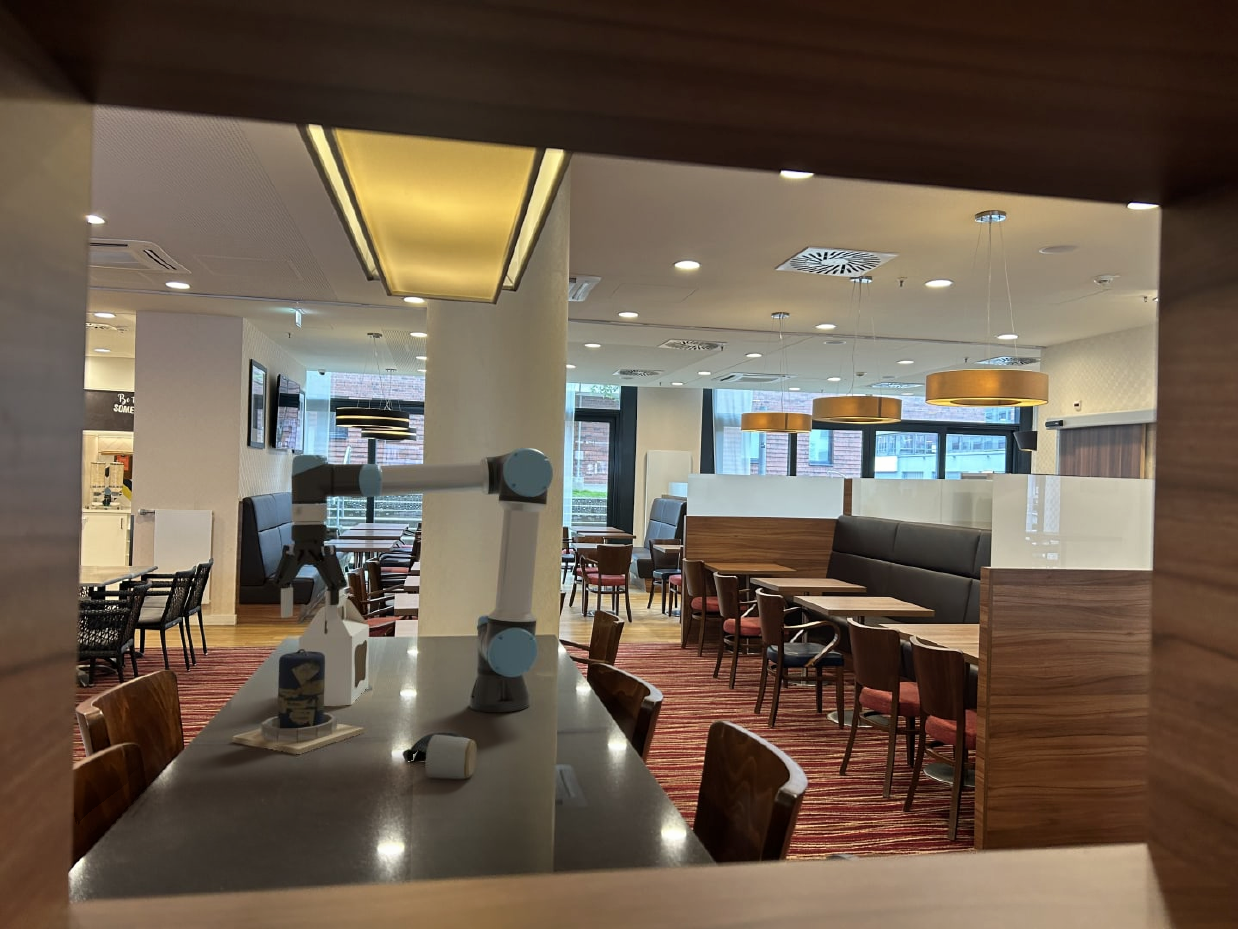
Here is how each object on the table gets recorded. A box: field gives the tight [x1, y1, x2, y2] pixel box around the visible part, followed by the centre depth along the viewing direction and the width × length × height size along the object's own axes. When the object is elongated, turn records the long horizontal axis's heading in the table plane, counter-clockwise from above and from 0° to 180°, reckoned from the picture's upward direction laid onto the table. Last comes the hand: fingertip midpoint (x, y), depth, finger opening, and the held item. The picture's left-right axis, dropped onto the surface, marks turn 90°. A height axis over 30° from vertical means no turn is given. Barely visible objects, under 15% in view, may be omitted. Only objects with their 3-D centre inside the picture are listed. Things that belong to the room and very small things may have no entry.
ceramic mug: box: [424, 735, 478, 780], centre depth 155 cm, size 11×8×8 cm
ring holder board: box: [232, 712, 365, 755], centre depth 180 cm, size 20×18×4 cm
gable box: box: [298, 588, 370, 707], centre depth 219 cm, size 22×13×28 cm, turn 6°
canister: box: [277, 649, 325, 729], centre depth 180 cm, size 10×10×18 cm
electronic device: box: [402, 731, 464, 763], centre depth 169 cm, size 9×6×15 cm
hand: (308, 618), depth 184 cm, fingers open, 13 cm apart
